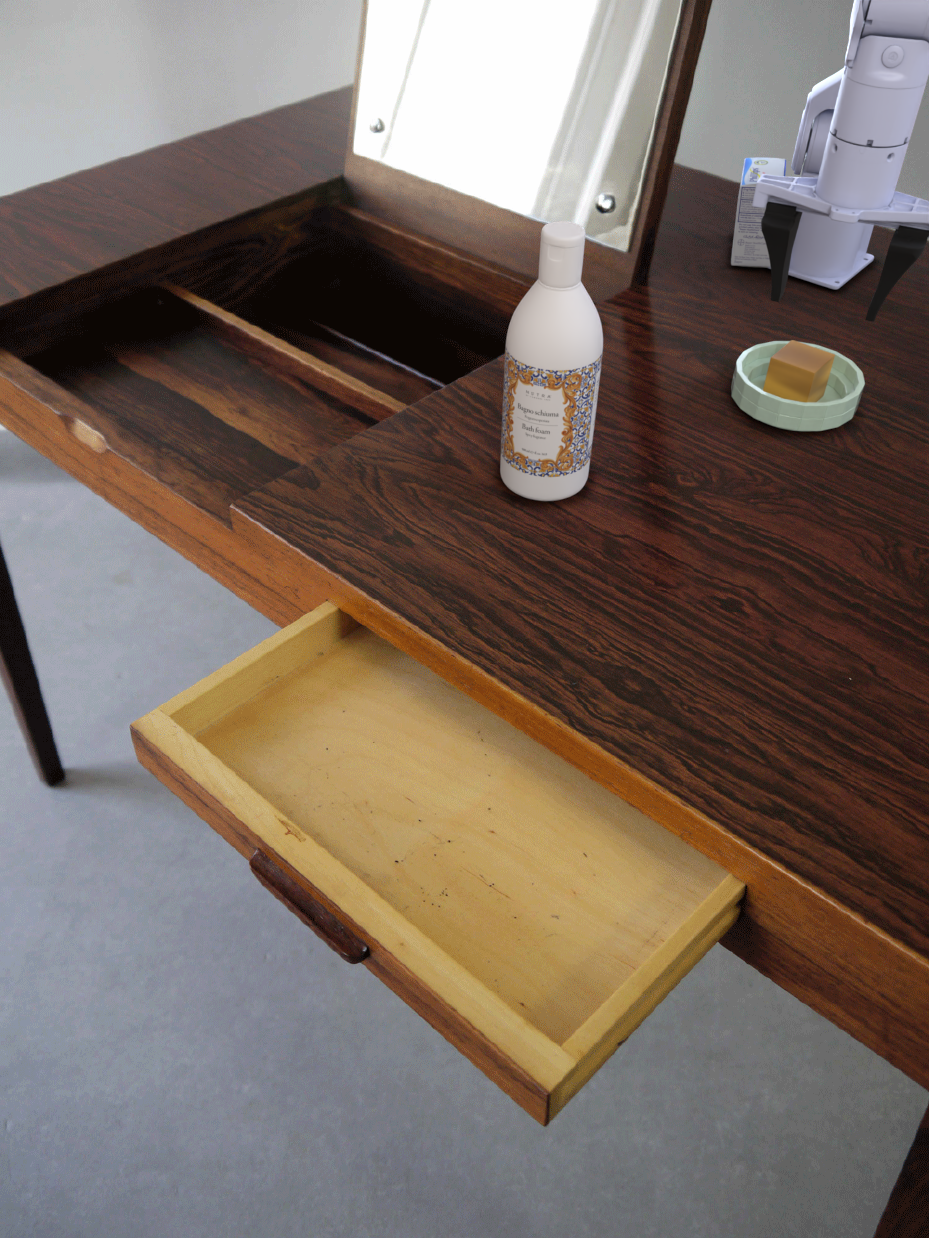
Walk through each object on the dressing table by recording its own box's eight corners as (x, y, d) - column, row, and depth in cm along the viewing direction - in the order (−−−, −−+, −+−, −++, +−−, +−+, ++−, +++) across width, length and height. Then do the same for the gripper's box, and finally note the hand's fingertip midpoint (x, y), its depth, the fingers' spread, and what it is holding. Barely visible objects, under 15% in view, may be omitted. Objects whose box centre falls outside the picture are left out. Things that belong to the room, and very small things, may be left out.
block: (781, 380, 93) (792, 339, 91) (823, 395, 92) (835, 354, 89) (760, 398, 91) (770, 357, 88) (803, 415, 89) (814, 373, 87)
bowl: (764, 358, 97) (771, 328, 95) (875, 398, 92) (885, 368, 90) (707, 405, 91) (713, 375, 89) (822, 451, 86) (832, 420, 84)
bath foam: (486, 492, 82) (495, 241, 68) (516, 445, 86) (530, 201, 73) (572, 513, 80) (599, 259, 66) (598, 464, 85) (628, 218, 71)
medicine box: (772, 269, 110) (786, 185, 104) (729, 267, 111) (739, 183, 105) (775, 238, 116) (787, 157, 110) (733, 236, 117) (743, 155, 111)
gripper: (759, 135, 77) (724, 308, 86) (967, 169, 73) (907, 347, 82) (780, 106, 82) (745, 273, 91) (977, 136, 77) (919, 308, 87)
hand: (823, 306), depth 87 cm, fingers open, 7 cm apart
